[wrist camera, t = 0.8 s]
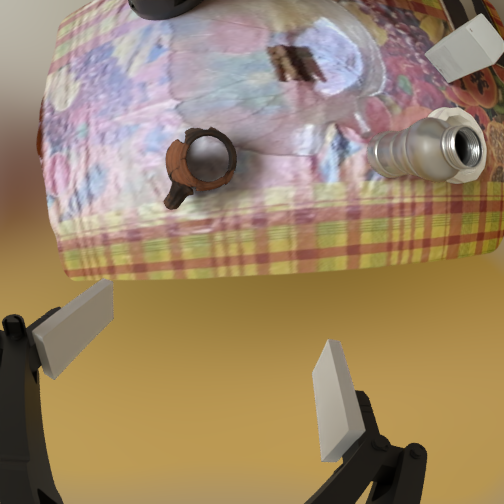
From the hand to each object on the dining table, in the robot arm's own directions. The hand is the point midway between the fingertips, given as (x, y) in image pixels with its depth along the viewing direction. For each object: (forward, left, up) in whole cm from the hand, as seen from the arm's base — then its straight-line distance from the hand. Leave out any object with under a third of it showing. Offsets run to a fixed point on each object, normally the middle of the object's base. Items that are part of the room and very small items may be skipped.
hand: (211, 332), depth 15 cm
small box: (-38, +26, -25) cm, 52 cm away
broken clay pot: (-8, -9, -25) cm, 28 cm away
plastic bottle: (-16, +16, -25) cm, 34 cm away
